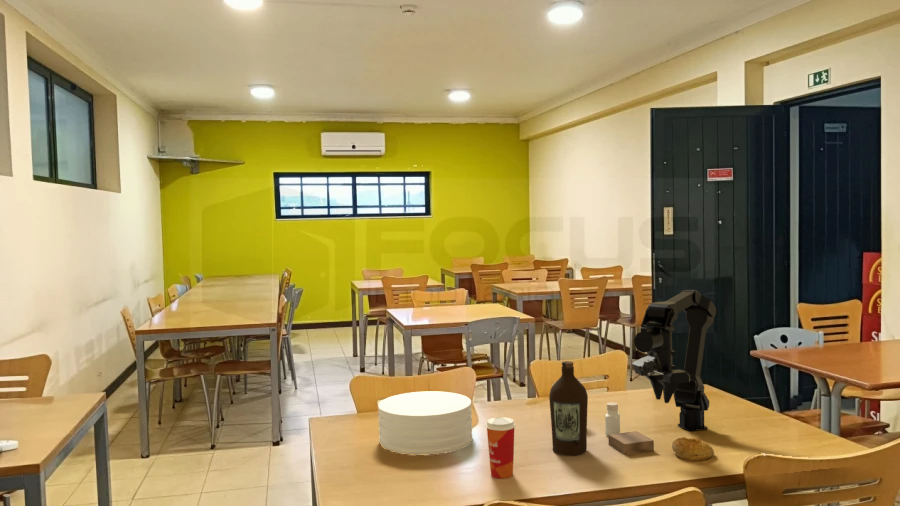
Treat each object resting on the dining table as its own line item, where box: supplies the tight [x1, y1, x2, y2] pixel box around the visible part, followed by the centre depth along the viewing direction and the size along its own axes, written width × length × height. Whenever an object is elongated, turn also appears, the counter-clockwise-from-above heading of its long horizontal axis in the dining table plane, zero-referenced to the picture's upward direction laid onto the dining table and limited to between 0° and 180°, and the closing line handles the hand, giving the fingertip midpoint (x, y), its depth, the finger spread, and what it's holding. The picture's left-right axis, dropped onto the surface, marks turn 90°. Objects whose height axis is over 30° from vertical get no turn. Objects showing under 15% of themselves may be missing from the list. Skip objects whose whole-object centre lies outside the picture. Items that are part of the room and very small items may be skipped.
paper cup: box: [485, 416, 516, 480], centre depth 172 cm, size 8×8×14 cm
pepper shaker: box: [604, 402, 621, 437], centre depth 201 cm, size 4×4×10 cm
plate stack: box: [377, 390, 473, 456], centre depth 203 cm, size 28×28×12 cm
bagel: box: [671, 436, 715, 461], centre depth 183 cm, size 10×11×5 cm
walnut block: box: [607, 430, 655, 456], centre depth 190 cm, size 9×9×3 cm
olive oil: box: [548, 360, 589, 457], centre depth 189 cm, size 11×11×25 cm
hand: (662, 401), depth 193 cm, fingers open, 4 cm apart
